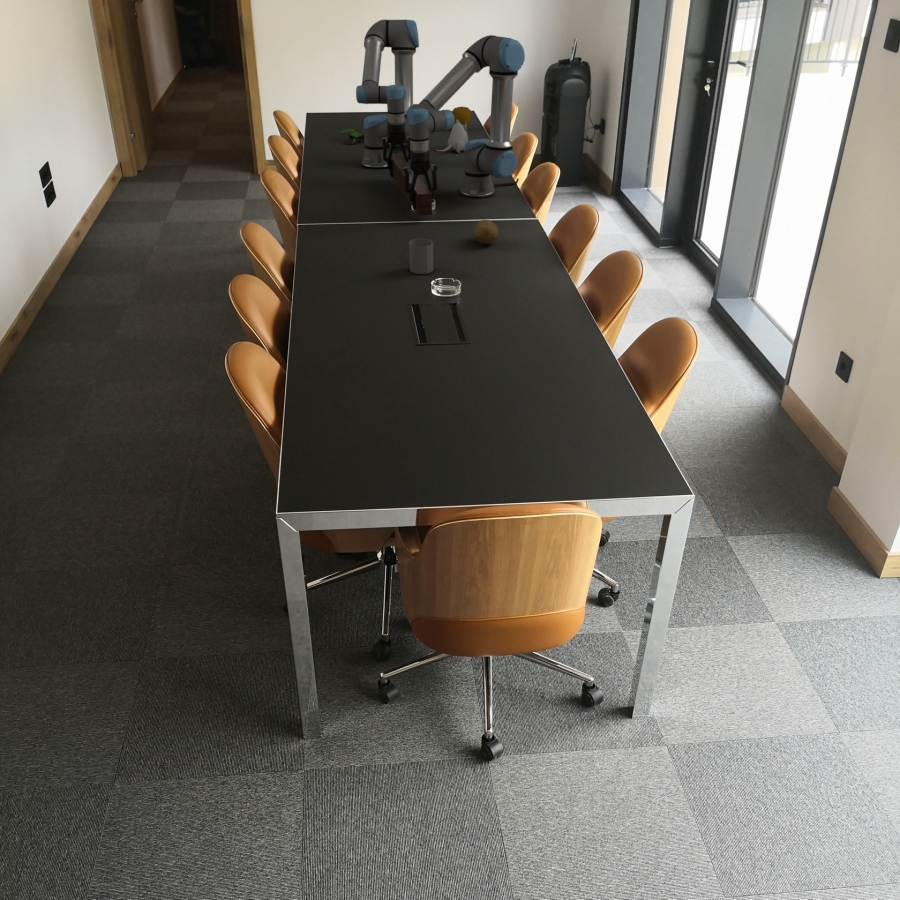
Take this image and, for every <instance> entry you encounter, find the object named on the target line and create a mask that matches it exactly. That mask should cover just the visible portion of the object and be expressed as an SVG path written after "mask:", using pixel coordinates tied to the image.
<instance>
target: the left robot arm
mask: <svg viewBox="0 0 900 900" xmlns="http://www.w3.org/2000/svg"><path fill="white" fill-rule="evenodd" d="M417 25H418V24H417V22H416V20H414V19H380V20H377V21H376V22H374V23H373V24H372V25H371V26H370V27H369V28H368V30H367V32H366V33H365V36H364V40H363V47H364V60H363V70H362V79H361V84H360V85H357V86H356V88H355V98H356V99H355V100H356V102H357V103H358V104H360V105H361V104H363V105H375V104H376V105H386V108H387V110H386V111H387V112H386V113H377V114H371V115H368V116H366V117H365V118H364V119H363V134H364V139H363V140H364V151H363V155H362V159H361V166H362V167H363V168H366V169H371V170H381V169H388V170H389V169H390V173H389V176H390V178H393V169H392V161H391V157H392V154H398V150H395V152H394V149H395V146H400V149H401V152H402V156H403V158H404V159H405V160H406V161H407V163H408V164H409V161H411V157H410V152H411V150H410V131H409V120H408V118H407V110H408V108H409V106H410V105H412V104H414V55H415V54H416V53H417V49H419V47H420V39H419V32H418V31H419V30H418V26H417ZM385 48H390V52H391V54H393V56H394V84H389V85H380V77H381V76H380V74H381V67H382V65H381V64H382V54H383V51H384V50H385ZM405 145H407V152H406V148H405Z"/></svg>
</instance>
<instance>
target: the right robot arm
mask: <svg viewBox="0 0 900 900" xmlns="http://www.w3.org/2000/svg"><path fill="white" fill-rule="evenodd" d="M461 57H462V58H461V59H460V60H459V61H458V62H457V63H456V64H455V65H454V66H453V67H452V68H451V69H450V71H448V73H446V75H445V76H444V77H443V78H442V79H440V80H439V82H438V83H437V84H436V85H435V86H434V87H433V88H432V89H431V90H430V91H429V92H428V93H427V94H426V95H425V96H424V98H423V99H422V100H420V102H419V103H413V104H412V105H410V106H409V108H408V110H407V118H408V120H409V131H410V150H411V152H410V157H411V159H410V163H409V165H410V166H408V167H404V168H403V169H404V172H405V191H406V193H410V201H411V202H412V204H413V206H412V210H413V211H415V210H416V202H415V193H414V188H415V184H416V180H417V177H419V176H420V175H422V176H423V177H424V179H425V182H426V187H427V188H428V189H429V191H430V192H431V193H432V201H433V199H434V192H435V191H438V180H437V169H438V166H437V164H435V163H434V164H432V163H431V162H430V134H434V133H438V132H439V133H440V132H444V131H448V130H452V128H453V126H454V115H453V113H452V110H450V109H442V108H443V106H445V105H446V104H447V103H448V101H449V100H450V99H451V98H452V97H454V95H455V94H456V93H458V91H459V90H460V89H461V88H462V87H463V86H464V85H465V84H466V83H467V82H468V81H469V80H470V79H471V77H472V76H473V75H474V74H475V73H477V74H478V73H480V72H481V71H482V70H483V69H484V68H488V67H489V69H488V74H489V76H490V77H491V78H492V81H491V83H492V85H491V102H490V103H491V104H490V119H489V120H490V121H489V122H490V124H489V138H477V139H471V140H468V141H467V142H466V144H465V150H464V151H463V152H464V175H463V179H462V182H461V184H460V185H461V186H460V188H459V194H460V195H461V196H463V197H466V198H471V199H484V198H489V197H492V196H494V195H495V187H502V186H504V187H505V186H513V185H517V184H518V183H519V180H520V179H519V178H516V180H515V181H513V182H505V183H504V182H503V183H493V180H492V176H493V177H494V178H499V179H506V178H509V177H510V176H512V175H513V173H514V172H515V171H516V169H517V168H518V167H517V166H518V160H519V159H518V156H517V154H516V153H515V152H514V144H513V142H512V141H511V127H512V113H513V111H512V110H513V97H514V80H515V79H516V77H517V76H518V75H519V70H521V69H522V66H523V65H524V62H525V59H526V54H525V49H524V47H523V45H522V43H521V42H520V41H519V40H517V39H514V38H512V37H506V36H498V35H493V34H490V35H485V36H483V37H481V38H479V39H478V40H476V41H475V42H473V43H472V44H471V45H470V46H469V47H468V48H467V49H466V50H465V51H464V52H463V53H462V55H461ZM441 109H442V110H441ZM410 169H412V171H413V177H412V182H411V186H410V189H409V172H410ZM429 170H431V179H432V184H431V181H430V177H429V173H428V171H429Z"/></svg>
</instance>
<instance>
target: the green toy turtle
mask: <svg viewBox="0 0 900 900" xmlns="http://www.w3.org/2000/svg"><path fill="white" fill-rule="evenodd" d="M344 132H349V133H347V136H348V137H347V139H348V140H350V141H345V140H342V139H338V141H340V142H342V143H344V144H345V145H346V144H347V145H355V144H356V143H357V142H360V141H363V140H364V133H362V132H359V131H357V130H356V129H355V128H345V129H344V130H340V131H339V134H342V133H344Z"/></svg>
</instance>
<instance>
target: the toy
mask: <svg viewBox="0 0 900 900" xmlns="http://www.w3.org/2000/svg"><path fill="white" fill-rule="evenodd" d="M450 130H451V131H450V134H449V138H448V139H447V147H446V148H444V149H436V151H437V152H442V153H444V152H446V151H449V152H452V151H456V153H458V154H461V152H462V151H463V152H464V150H465V144H466V142H467V141H469V136H468V128H467V124H466V123H465V126H464V125H461V124H460V122H459V121H458V120H456V124H454V126H453V127H452V128H451V129H450Z"/></svg>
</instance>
